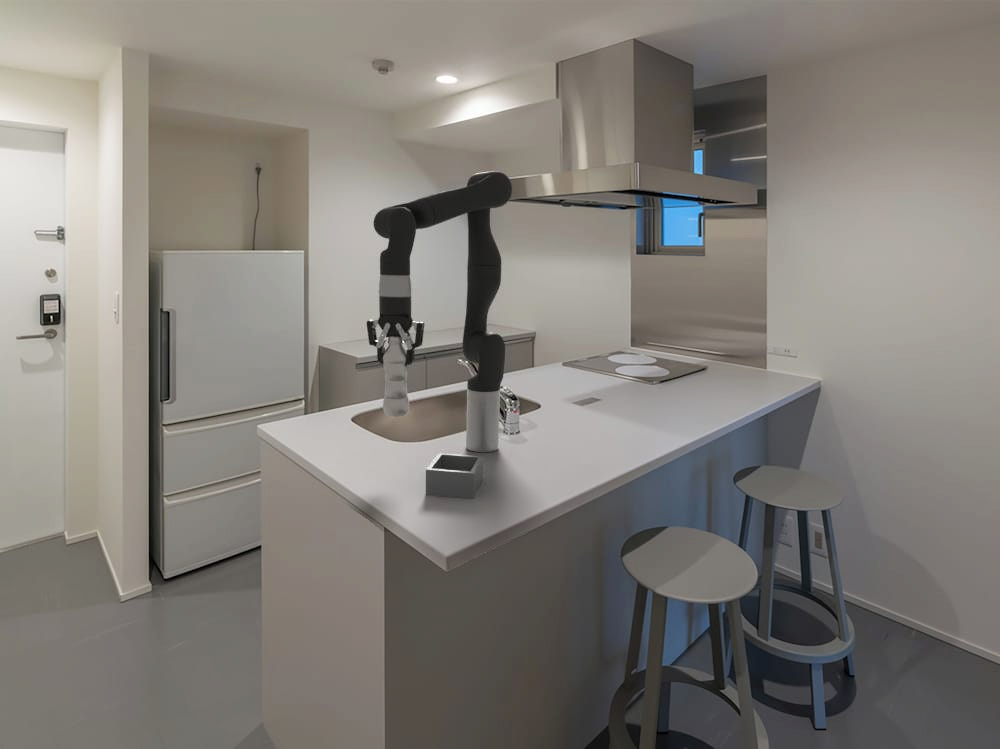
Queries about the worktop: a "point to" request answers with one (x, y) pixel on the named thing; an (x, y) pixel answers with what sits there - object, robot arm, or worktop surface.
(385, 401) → the plastic bottle
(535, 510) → the worktop surface
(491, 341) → the robot arm
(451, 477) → the storage caddy
